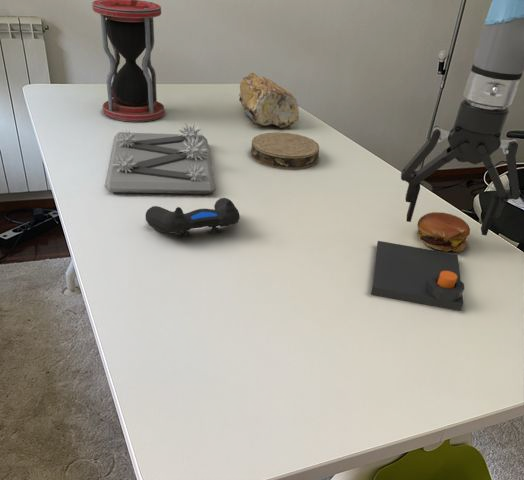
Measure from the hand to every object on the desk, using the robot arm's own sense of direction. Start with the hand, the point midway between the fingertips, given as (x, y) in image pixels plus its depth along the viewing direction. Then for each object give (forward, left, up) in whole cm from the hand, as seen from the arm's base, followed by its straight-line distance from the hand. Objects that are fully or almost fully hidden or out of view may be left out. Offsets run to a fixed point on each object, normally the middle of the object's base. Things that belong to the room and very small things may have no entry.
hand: (445, 225), depth 101 cm
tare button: (+1, +20, 0) cm, 21 cm away
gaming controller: (+44, +12, -3) cm, 45 cm away
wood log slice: (+36, -31, -3) cm, 47 cm away
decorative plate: (+60, -13, -3) cm, 61 cm away
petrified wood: (+46, -58, -3) cm, 74 cm away
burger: (0, 0, -3) cm, 3 cm away
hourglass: (+80, -46, -3) cm, 92 cm away
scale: (+5, +15, -3) cm, 16 cm away
